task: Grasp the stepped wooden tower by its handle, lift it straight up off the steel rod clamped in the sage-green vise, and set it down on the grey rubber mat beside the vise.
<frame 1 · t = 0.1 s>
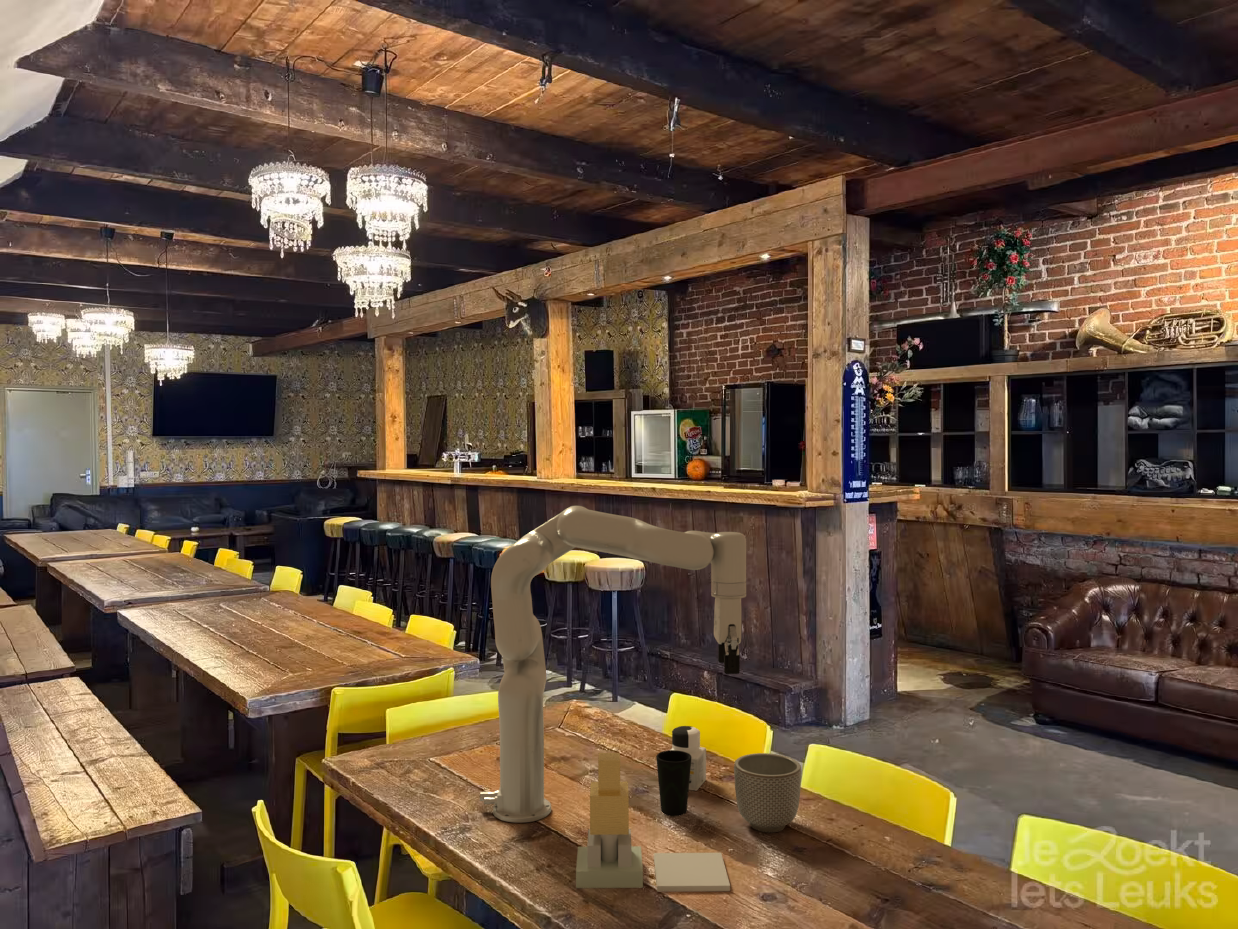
hand: (728, 667, 195), 31 cm above the table, tool pointing down, fingers open, 9 cm apart
planter: (767, 826, 187), on the table
container: (686, 784, 211), on the table
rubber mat: (690, 874, 166), on the table
stepped wooden tower: (609, 826, 166), point 9 cm above the table, touching vise
vise: (609, 874, 166), on the table
cup: (673, 811, 195), on the table
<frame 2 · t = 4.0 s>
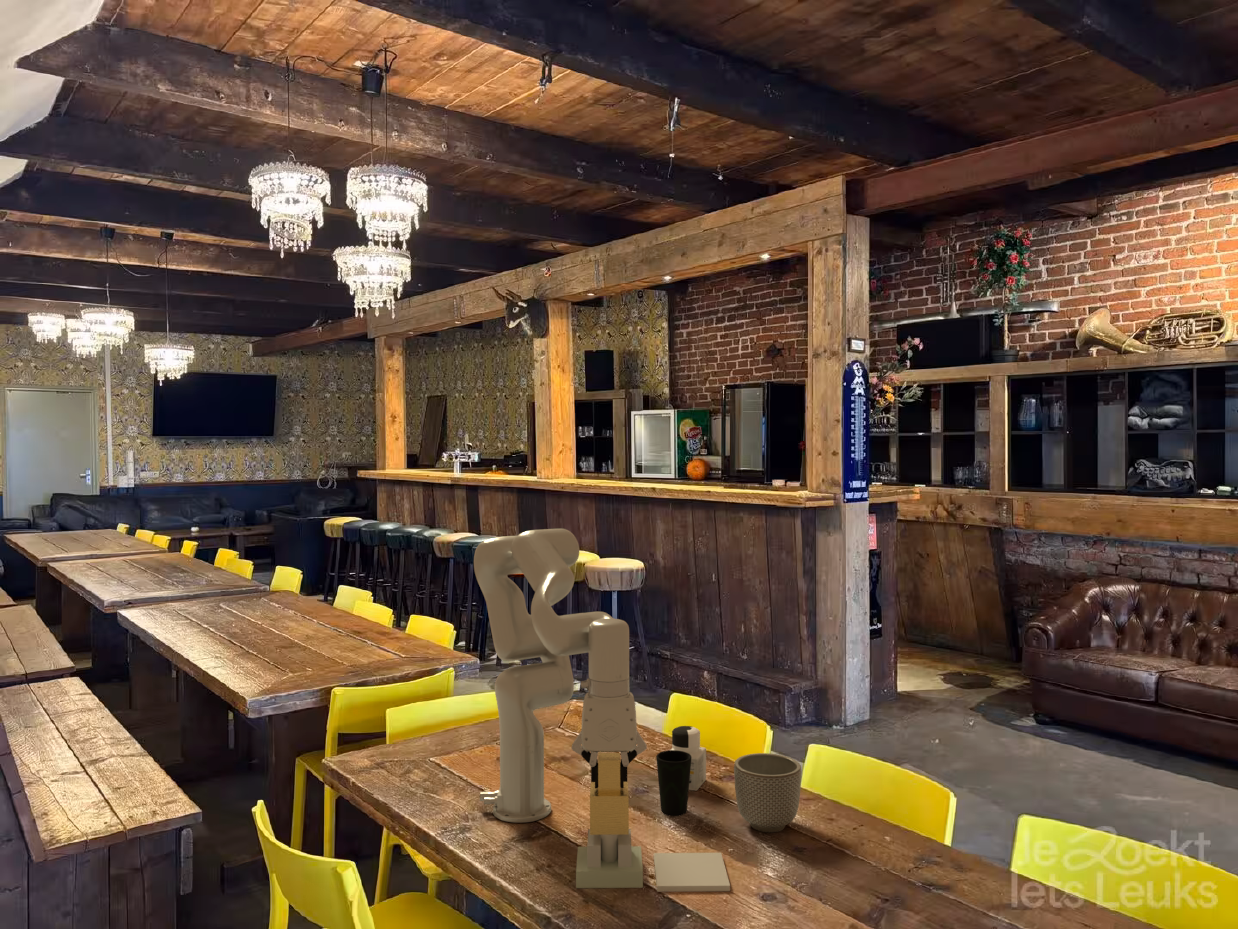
hand: (609, 784, 166), 17 cm above the table, tool pointing down, fingers closed on stepped wooden tower, 4 cm apart
stepped wooden tower: (609, 826, 166), point 9 cm above the table, touching gripper, vise
everything else where it was.
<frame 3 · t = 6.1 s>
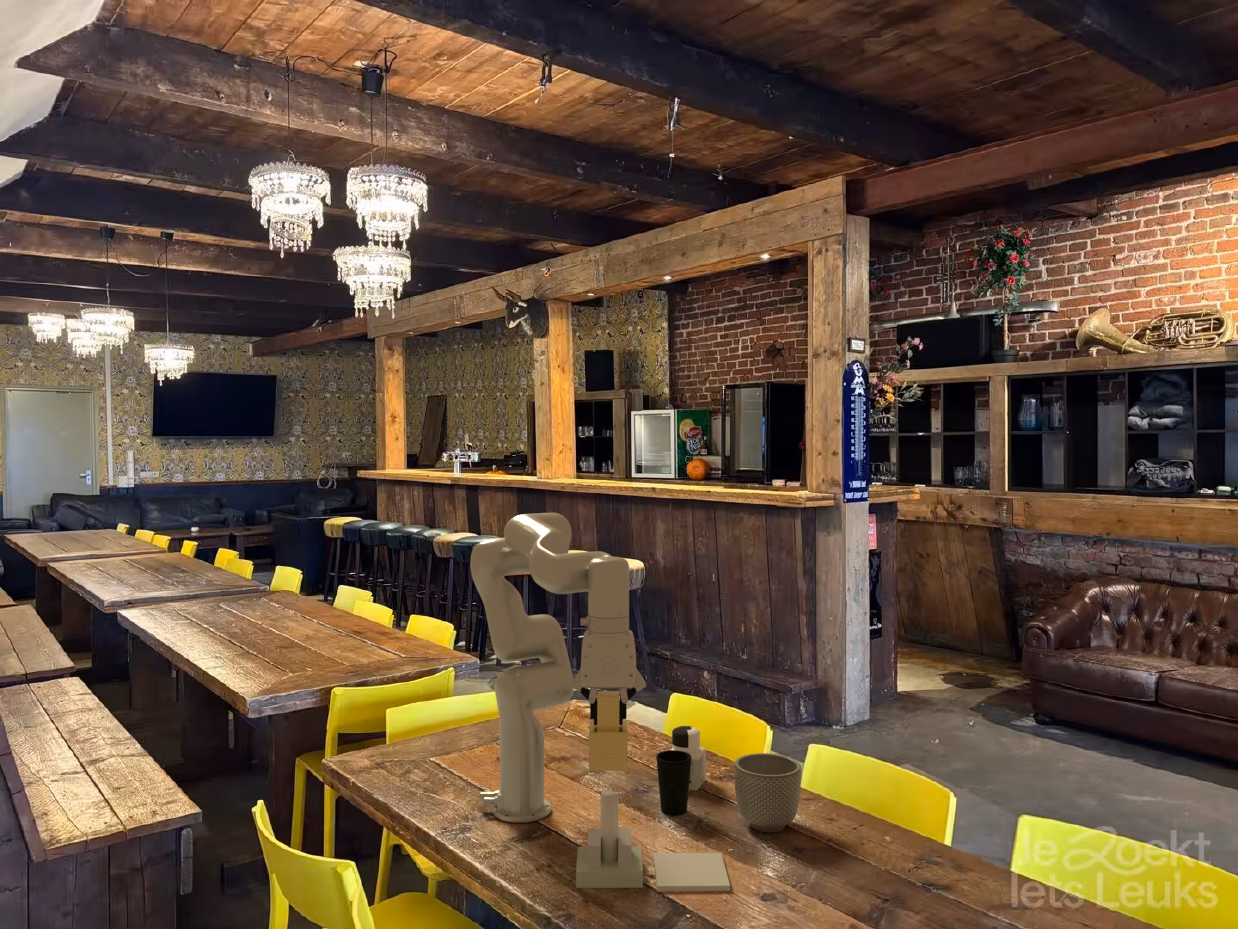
hand: (608, 722, 166), 28 cm above the table, tool pointing down, fingers closed on stepped wooden tower, 4 cm apart
stepped wooden tower: (608, 763, 166), point 21 cm above the table, touching gripper
everything else where it was.
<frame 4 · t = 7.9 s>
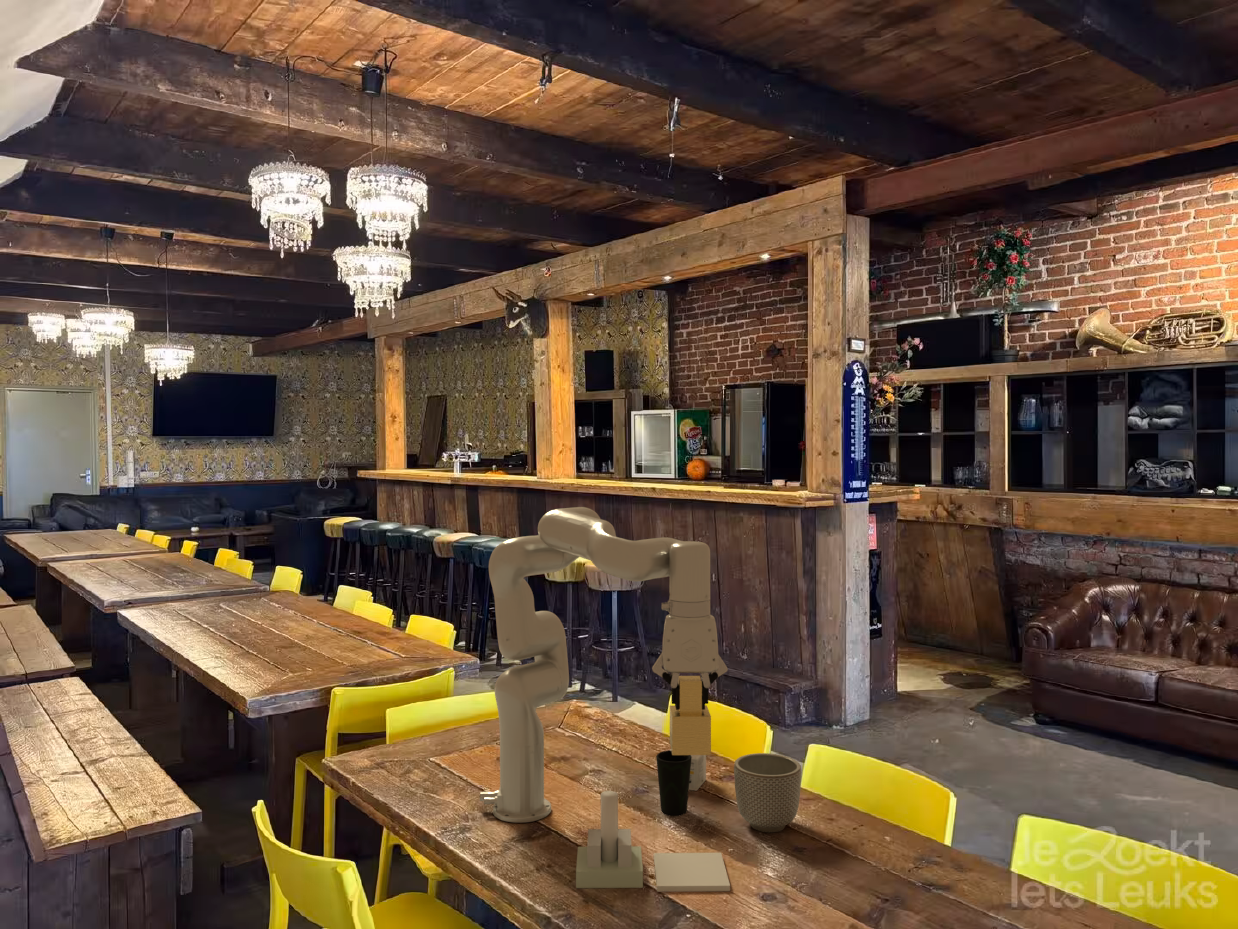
hand: (689, 706, 166), 31 cm above the table, tool pointing down, fingers closed on stepped wooden tower, 4 cm apart
stepped wooden tower: (689, 748, 166), point 23 cm above the table, touching gripper
everything else where it was.
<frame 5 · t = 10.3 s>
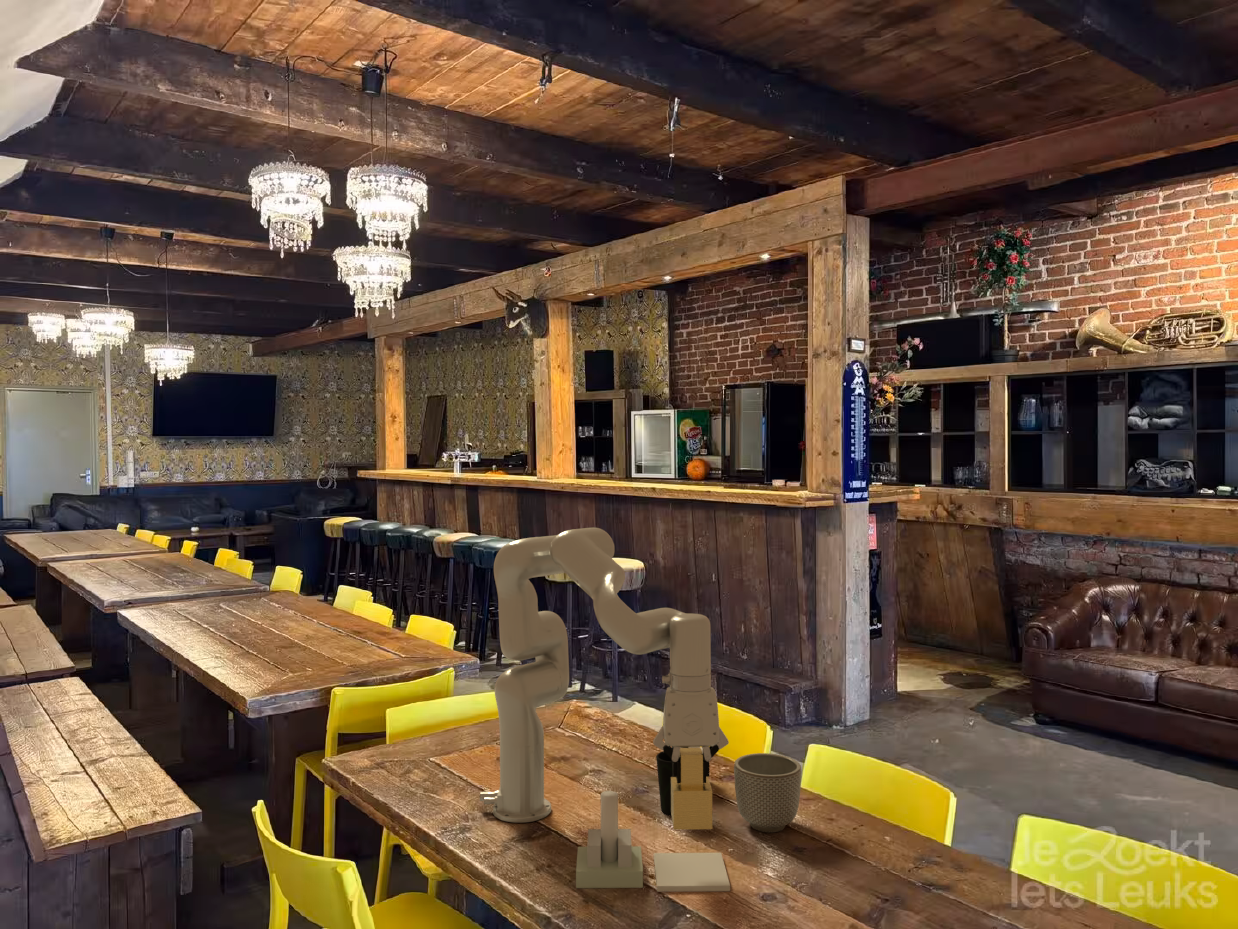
hand: (691, 779, 166), 18 cm above the table, tool pointing down, fingers closed on stepped wooden tower, 4 cm apart
stepped wooden tower: (691, 821, 166), point 10 cm above the table, touching gripper
everything else where it was.
when the fingers open (10 cm above the table, at t = 12.2 s): stepped wooden tower drops 1 cm, resting on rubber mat.
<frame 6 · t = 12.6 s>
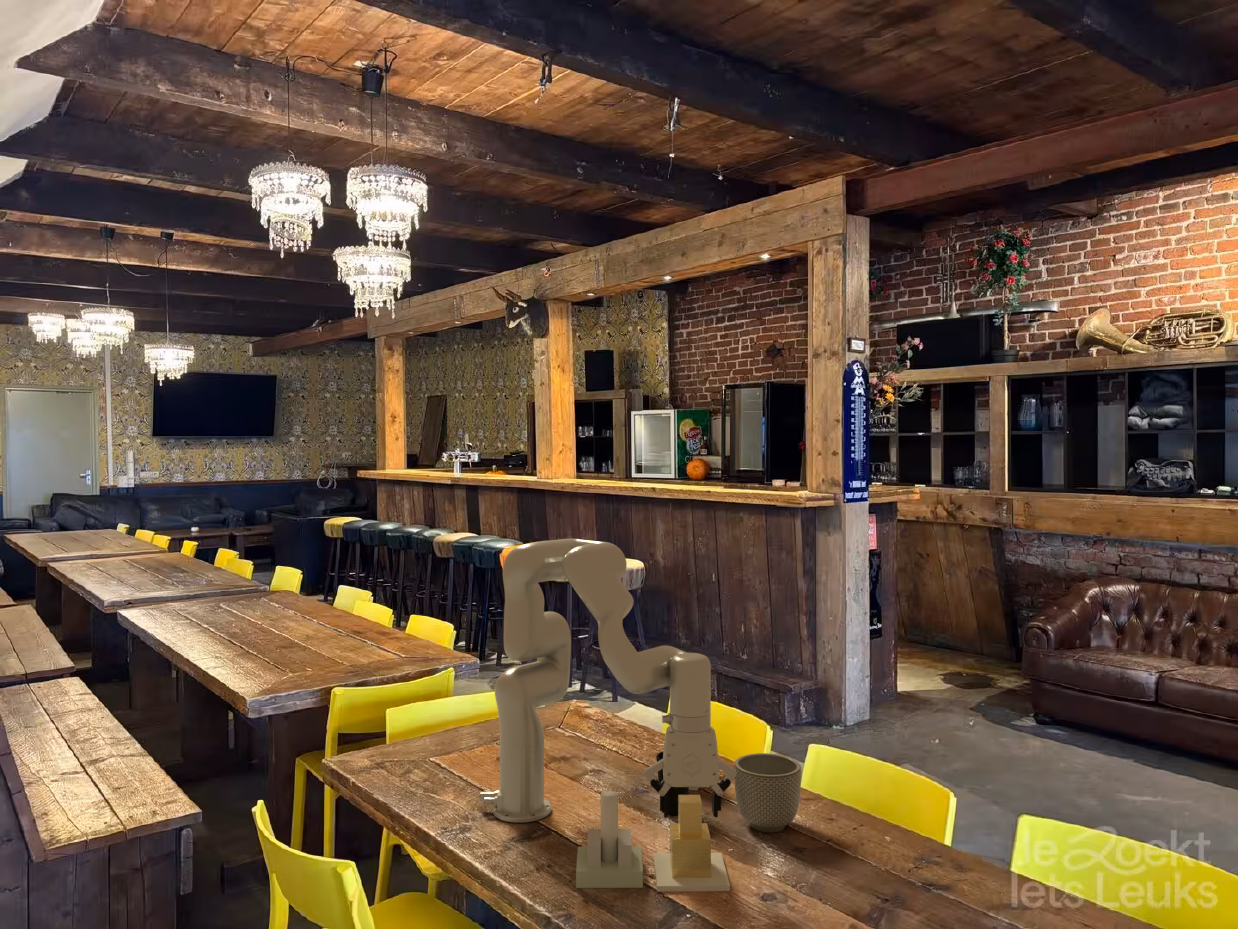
hand: (690, 814, 166), 11 cm above the table, tool pointing down, fingers open, 8 cm apart
stepped wooden tower: (690, 868, 166), point 1 cm above the table, touching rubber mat
everything else where it was.
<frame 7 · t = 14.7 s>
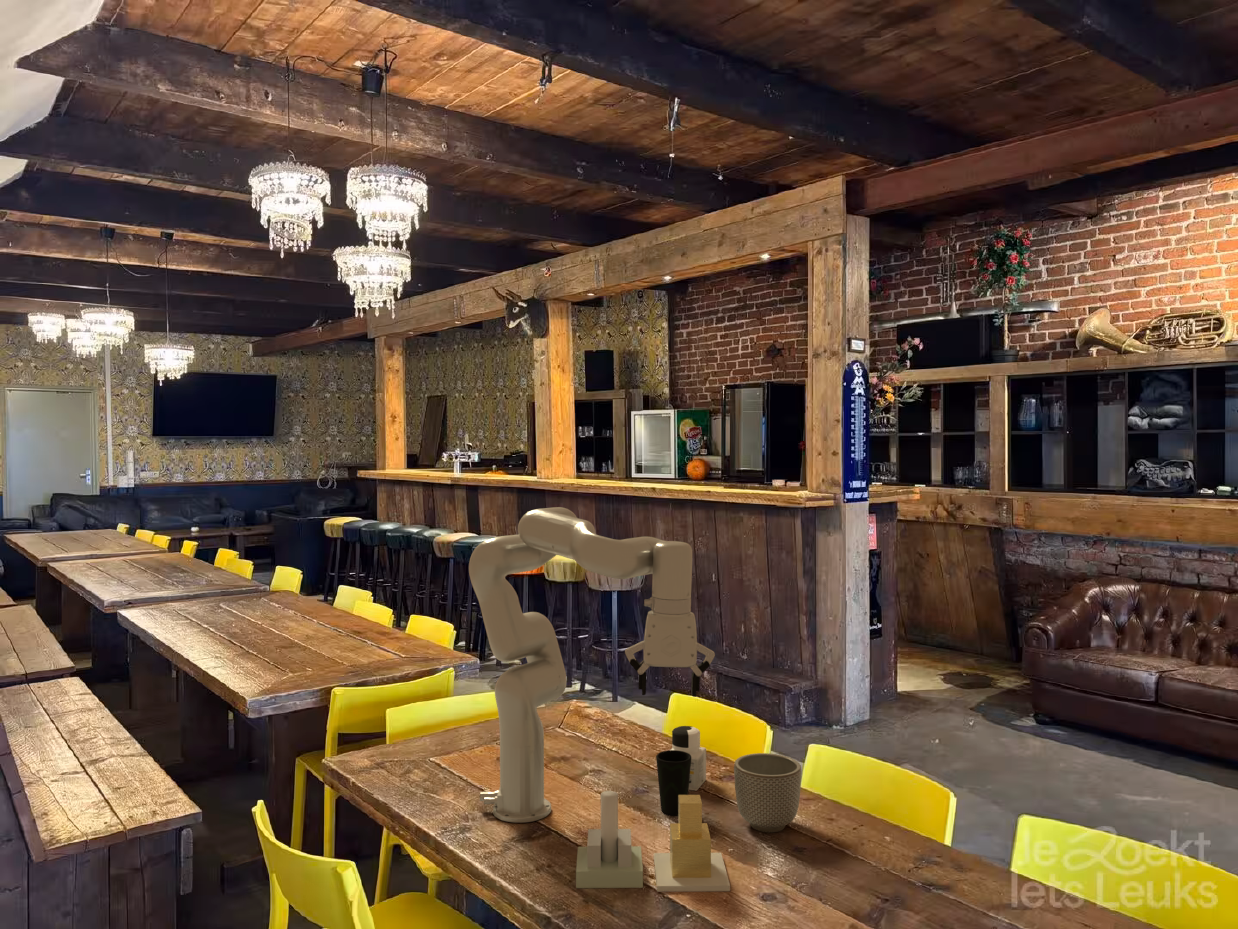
hand: (668, 694, 173), 31 cm above the table, tool pointing down, fingers open, 9 cm apart
nothing on the table moved.
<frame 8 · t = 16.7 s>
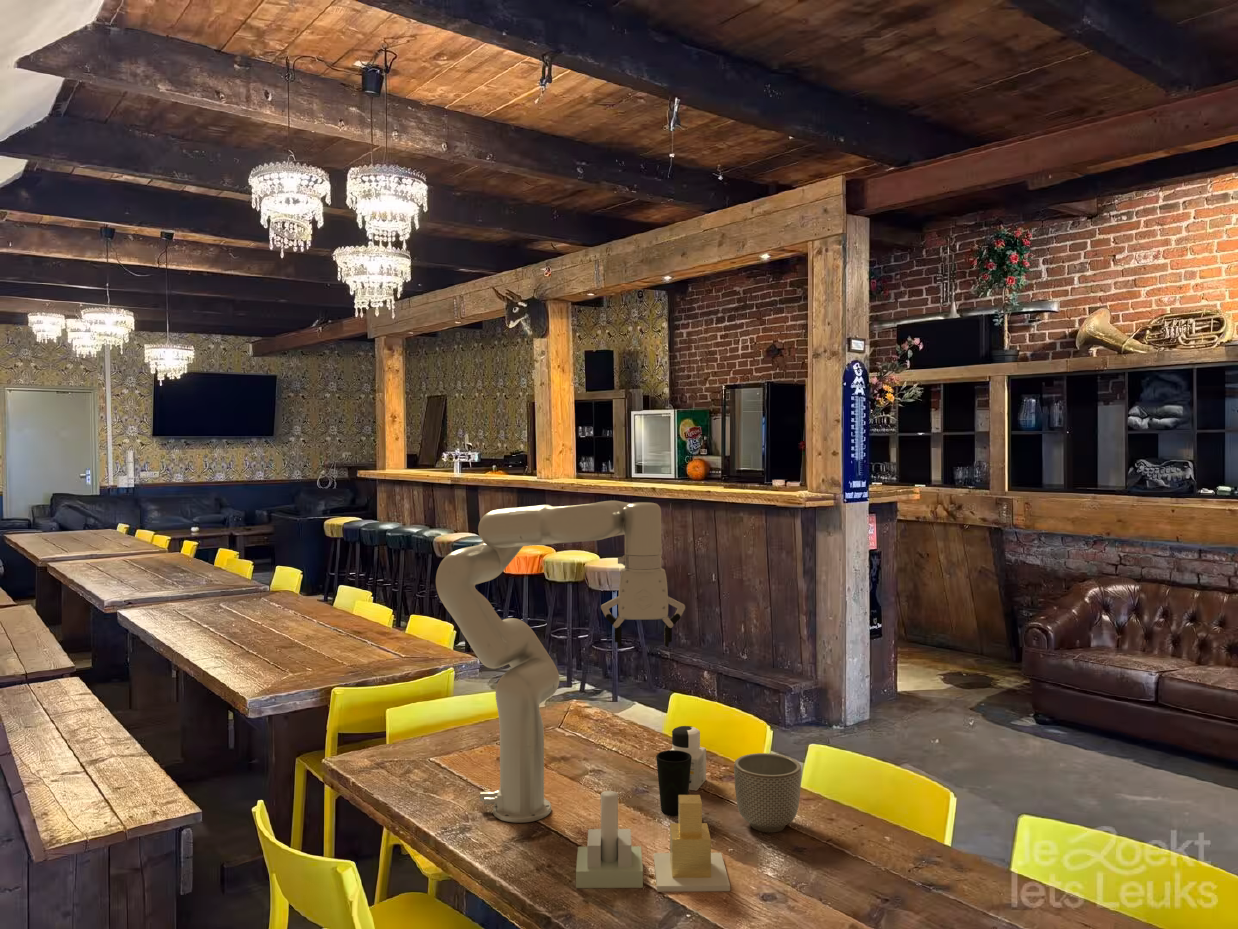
hand: (643, 645, 184), 38 cm above the table, tool pointing down, fingers open, 9 cm apart
nothing on the table moved.
at the end: stepped wooden tower inside the target area on the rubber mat (0.1 cm from its centre), point 1.0 cm above the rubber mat's base; stepped wooden tower tilted 0°; the gripper is holding nothing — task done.
